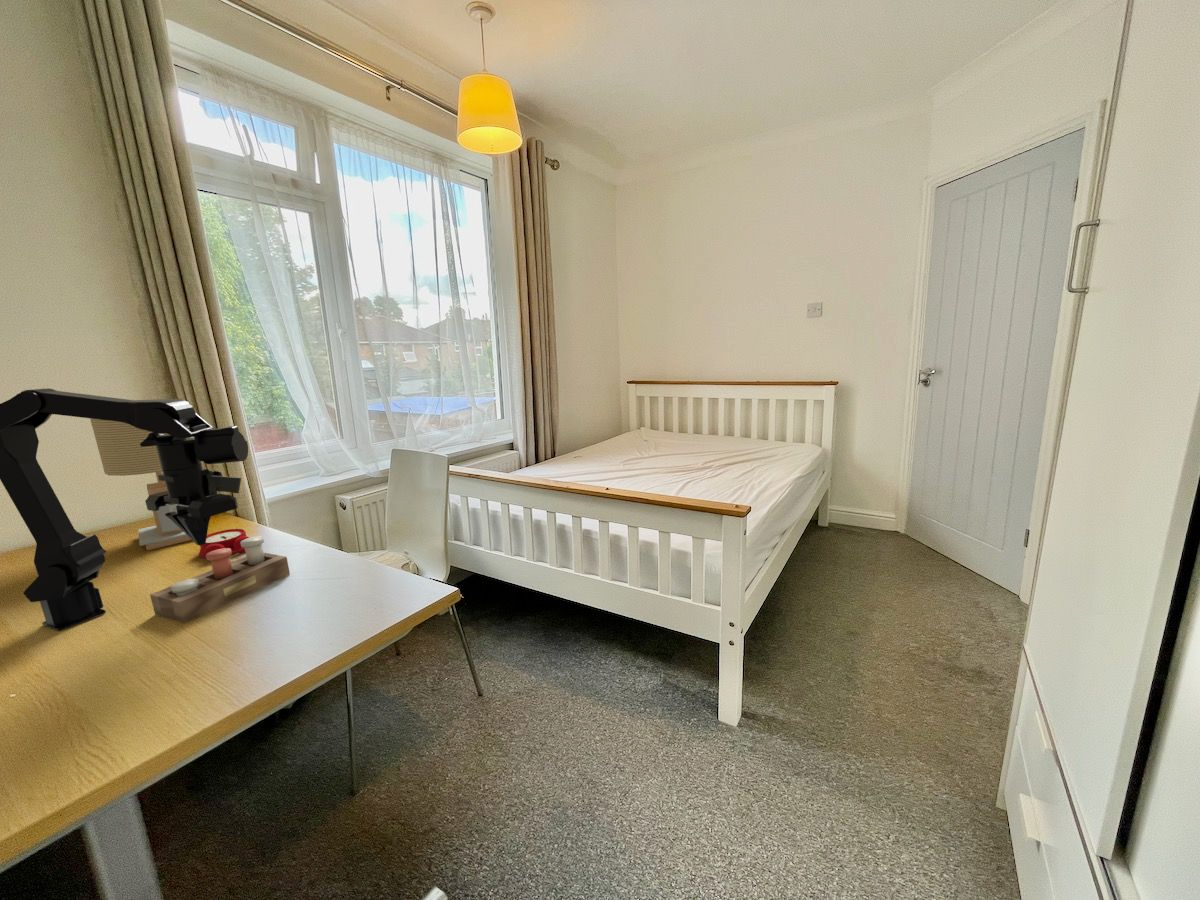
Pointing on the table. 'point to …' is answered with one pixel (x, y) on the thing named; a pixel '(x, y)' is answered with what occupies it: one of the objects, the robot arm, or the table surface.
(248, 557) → the right plug
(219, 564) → the red plug
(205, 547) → the alarm clock
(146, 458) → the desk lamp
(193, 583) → the left plug
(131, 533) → the table surface
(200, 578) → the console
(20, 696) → the table surface
